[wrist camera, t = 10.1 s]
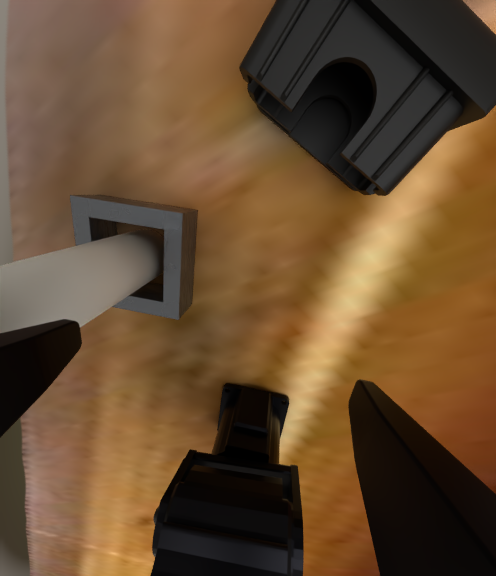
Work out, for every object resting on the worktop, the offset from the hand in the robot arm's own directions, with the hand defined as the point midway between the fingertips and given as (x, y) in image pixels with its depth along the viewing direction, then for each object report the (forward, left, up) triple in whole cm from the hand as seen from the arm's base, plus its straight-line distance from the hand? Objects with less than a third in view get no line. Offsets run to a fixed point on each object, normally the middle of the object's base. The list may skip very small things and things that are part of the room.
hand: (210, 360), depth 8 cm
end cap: (+11, -4, -13) cm, 18 cm away
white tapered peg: (-1, +9, -13) cm, 16 cm away
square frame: (-1, +9, -13) cm, 16 cm away
